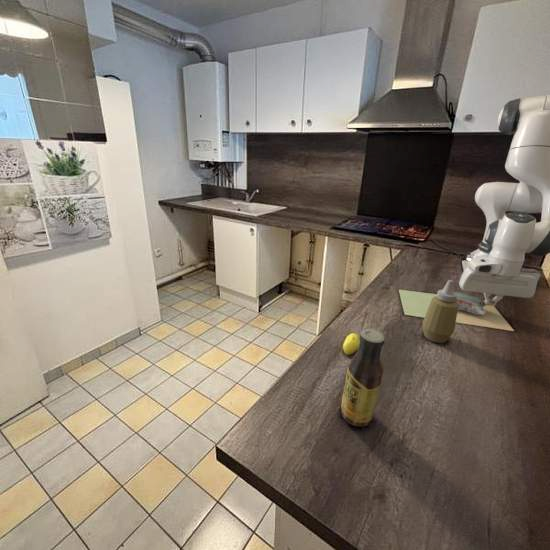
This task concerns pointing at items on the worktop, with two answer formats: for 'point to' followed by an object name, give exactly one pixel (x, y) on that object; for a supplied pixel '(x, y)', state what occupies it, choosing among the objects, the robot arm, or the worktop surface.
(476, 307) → the packaged food
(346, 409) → the sauce bottle
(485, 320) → the mat
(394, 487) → the worktop surface
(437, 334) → the squeeze bottle
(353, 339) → the lemon
